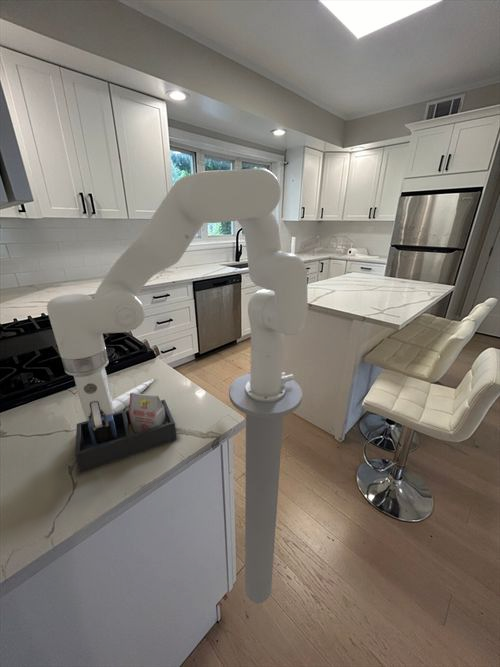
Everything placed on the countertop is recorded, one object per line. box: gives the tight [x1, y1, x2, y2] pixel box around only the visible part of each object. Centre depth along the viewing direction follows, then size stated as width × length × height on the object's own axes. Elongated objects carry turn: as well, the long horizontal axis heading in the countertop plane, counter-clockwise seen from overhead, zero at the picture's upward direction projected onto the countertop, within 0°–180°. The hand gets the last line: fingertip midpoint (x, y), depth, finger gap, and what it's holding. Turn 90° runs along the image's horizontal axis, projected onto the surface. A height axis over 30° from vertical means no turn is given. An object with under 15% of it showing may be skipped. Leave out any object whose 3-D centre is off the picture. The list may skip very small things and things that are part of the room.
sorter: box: [74, 399, 178, 473], centre depth 63 cm, size 19×10×5 cm, turn 119°
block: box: [88, 411, 117, 444], centre depth 60 cm, size 4×4×4 cm
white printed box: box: [128, 392, 166, 433], centre depth 64 cm, size 4×7×10 cm, turn 79°
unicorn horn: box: [85, 378, 155, 421], centre depth 75 cm, size 5×24×5 cm, turn 159°
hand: (104, 432), depth 60 cm, fingers closed on block, 4 cm apart
